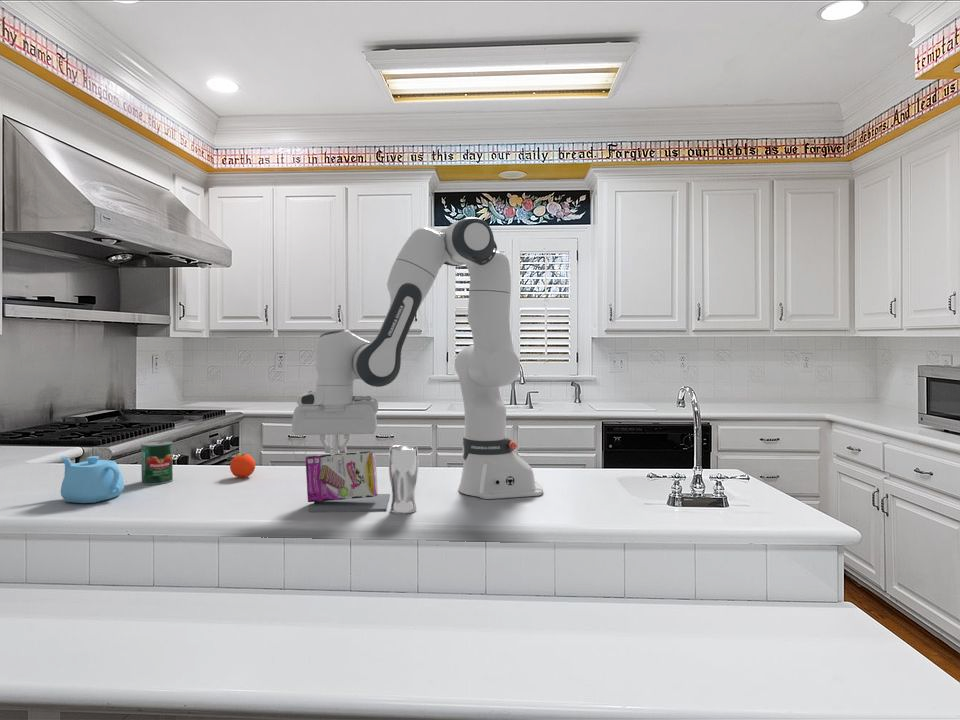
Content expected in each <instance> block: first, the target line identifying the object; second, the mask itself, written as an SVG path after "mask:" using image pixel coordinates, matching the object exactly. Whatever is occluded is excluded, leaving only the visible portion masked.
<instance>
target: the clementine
mask: <svg viewBox="0 0 960 720" xmlns="http://www.w3.org/2000/svg"><path fill="white" fill-rule="evenodd" d="M229 469H230V472H231V475H233V476H235V478H239V479H245V478H248V477H250V476H251V475H252V474H253V473H254V471H255V469H256V460H255V459H254V458H253V456H251V455H250V454H248V453H247V454H246V453H238V454H235V456H234V457H233V458H232V459H231V461H230V464H229Z"/></svg>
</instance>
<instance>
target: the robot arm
mask: <svg viewBox="0 0 960 720" xmlns="http://www.w3.org/2000/svg"><path fill="white" fill-rule="evenodd" d="M443 265H447V266H450V267H459V266H465V267H466V268H467V271H468V273H469V291H468V304H467V305H468V308H467V309H468V310H467V323H468V325H469V327H470V331H471V334H472V343H473V344H471V345H468V346H467V347H464V348H463V349H461V350H460V351H459V352H458V353H457V354H456V357H455V359H454V369H455V372H456V374H457V376H458V379H459V385H460V390H461V395H462V400H463V409H464V410H463V411H464V437H463V438H462V458H463V465H462V472H461V477H460V482H459V486H458V489H457V491H458V492H460V493H461V494H463V495H464V494H465V495H467V496H471V497H472V496H473V497H478V498H481V499H483V500H484V499H486V500H491V499H492V500H494V499H508V498H509V499H510V498H521V497H522V498H523V497H524V498H525V497H537V496H541V495H542V494H544V488H543V486H542V485H541V484H540V483H539V482H537V481H536V480H535V475H534V472H533V468H532V467H531V465H530V464H529V463H528V462H526V461H525V460H524V459H523V458H522V457H520V456H519V455H518V454H516V453H515V452H513V451H515V450H516V449H517V447H518V444H517V443H516V442H515V440H511V439H510V438H509V437H507V409H506V406H505V404H504V402H503V398H502V396H501V393H500V388H502V387H506V386H509V385H511V384H512V383H513V382H515V380H517V378H518V376H519V374H520V369H521V364H520V359H519V358H518V355H517V354H516V352H515V350H514V346H513V345H514V344H513V339H512V333H511V326H510V313H511V312H510V311H511V296H512V295H511V293H512V292H511V291H512V290H511V289H512V279H511V277H512V276H511V266H510V261H509V258H508V257H507V256H506V254H504V253H502V252H500V251H498V247H497V242H496V241H495V238H494V233H493V231H492V228H491V227H490V225H489V224H488V222H486V221H485V220H484V219H482V218H478V217H474V216H473V217H472V216H471V217H470V216H469V217H468V216H467V217H465V218H462V219H460V220H458V221H455V222H453V223H451V224H450V225H448V227H446V228H444V229H442V230H441V231H440V232H437V231H436V230H434V229H431V228H428V227H421V228H417V229H415V230H414V231H413V232H412V233H411V235H410V236H409V237H408V238H407V240H406V242H405V243H404V244H403V246H402V247H401V249H400V251H399V253H398V255H397V256H396V258H395V261H394V263H393V265H392V266H391V269H390V273H389V276H388V279H387V281H386V282H387V284H386V286H387V292H388V293H389V297H390V298H389V299H390V304H389V309H388V311H387V313H386V315H385V317H384V320H383V322H382V324H381V326H380V328H379V331H378V332H377V336H376V337H375V338H374V339H373V341H368V340H366V339H364V338H361V337H359V336H358V335H356V334H354V333H353V332H351V331H350V330H349V329H343V328H341V329H337V330H336V329H335V330H331V331H326V332H323V333H322V334H320V336H319V337H318V339H317V341H316V342H317V343H316V348H315V349H316V350H315V368H316V372H317V373H316V374H317V378H316V383H315V390H310V391H308V392H305V393H302V394H300V395H298V396H297V397H296V405H297V406H296V407H295V409H294V411H293V414H292V421H291V431H292V433H293V434H294V436H319V440H320V442H321V443H322V445H323V447H324V454H332V452H333V449H332V448H333V447H332V444H329V443H328V441H327V440H326V439H327V438H328V435H333V436H334V435H335V436H336V435H337V436H338V435H339V436H341V435H343V439H344V440H345V441H344V442H343V444H340V445H339V448H338V449H339V454H340V453H347V445H348V444H349V441H350V439H352V435H374V434H375V432H377V431H378V421H377V420H378V419H377V413H378V411H379V403H378V400H377V399H376V398H374V397H372V395H365V396H362V395H354V380H361V381H363V382H364V383H365V384H367V385H369V386H371V387H378V388H379V387H385V386H388V385H390V384H391V383H393V382H394V381H395V379H396V378H397V377H398V375H399V373H400V371H401V363H402V360H401V359H402V349H403V345H404V344H405V341H406V338H407V336H408V333H409V331H410V329H411V327H412V324H413V322H414V320H415V317H416V315H417V313H418V310H419V309H420V307H421V305H422V303H423V302H424V300H425V298H426V297H427V295H428V293H429V291H430V290H431V288H432V287H433V284H434V282H435V280H436V278H437V275H438V274H439V271H440V270H441V268H442V266H443Z"/></svg>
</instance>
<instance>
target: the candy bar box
mask: <svg viewBox="0 0 960 720" xmlns="http://www.w3.org/2000/svg"><path fill="white" fill-rule="evenodd" d="M376 456H377V455H376V451H375V450H370V451H369V450H368V451H353V452H346V453H340V452H339V453H328V454H322V455H320V454H319V455H318V454H317V455H308V456H305V473H306V491H307V493H306V495H307V502H308V503H314V502H319V501H330V500H342V499H353V498H366V497H375V496H377V495H378V494H379V493H378V492H379V490H378V478H377V477H378V476H377V474H378V473H377V460H376V459H377V458H376Z"/></svg>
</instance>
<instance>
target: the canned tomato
mask: <svg viewBox="0 0 960 720" xmlns="http://www.w3.org/2000/svg"><path fill="white" fill-rule="evenodd" d="M140 446H141V448H140V450H141V451H140V457H141V458H140V459H141V464H140V465H141V466H140V468H141V469H140V470H141V474H140V475H141V484H142V485H146V486H151V485H152V486H153V485H154V486H157V485H164V484H169V483H171V482H173V480H174V478H173V475H174V472H173V471H174V470H173V469H174V468H173V466H174V464H173V441H172V440H164V439H163V440H162V439H161V440H151V441H150V440H149V441H144V442H141V443H140Z"/></svg>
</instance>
